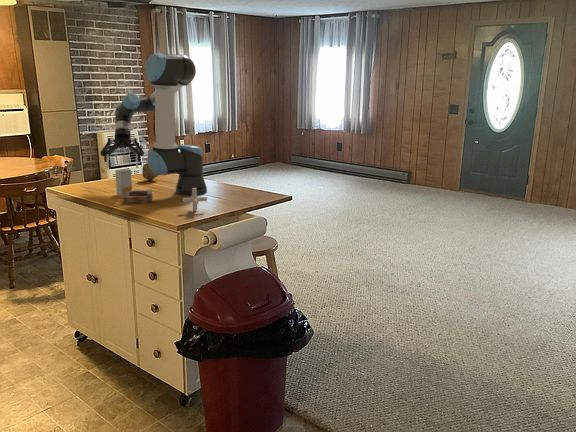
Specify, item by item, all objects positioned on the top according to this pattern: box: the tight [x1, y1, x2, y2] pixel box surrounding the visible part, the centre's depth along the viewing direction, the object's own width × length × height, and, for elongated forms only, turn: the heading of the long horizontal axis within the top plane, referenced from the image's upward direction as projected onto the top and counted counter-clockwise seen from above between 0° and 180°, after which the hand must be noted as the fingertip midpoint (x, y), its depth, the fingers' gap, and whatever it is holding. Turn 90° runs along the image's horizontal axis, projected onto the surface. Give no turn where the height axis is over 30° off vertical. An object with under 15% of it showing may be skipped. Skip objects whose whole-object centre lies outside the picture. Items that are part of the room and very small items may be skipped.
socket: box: [122, 189, 153, 205], centre depth 231 cm, size 12×14×3 cm
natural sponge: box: [141, 162, 159, 181], centre depth 272 cm, size 9×9×10 cm
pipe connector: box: [182, 188, 208, 212], centre depth 213 cm, size 10×10×10 cm
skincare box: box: [114, 168, 133, 197], centre depth 239 cm, size 6×4×12 cm
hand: (122, 166), depth 243 cm, fingers open, 13 cm apart
